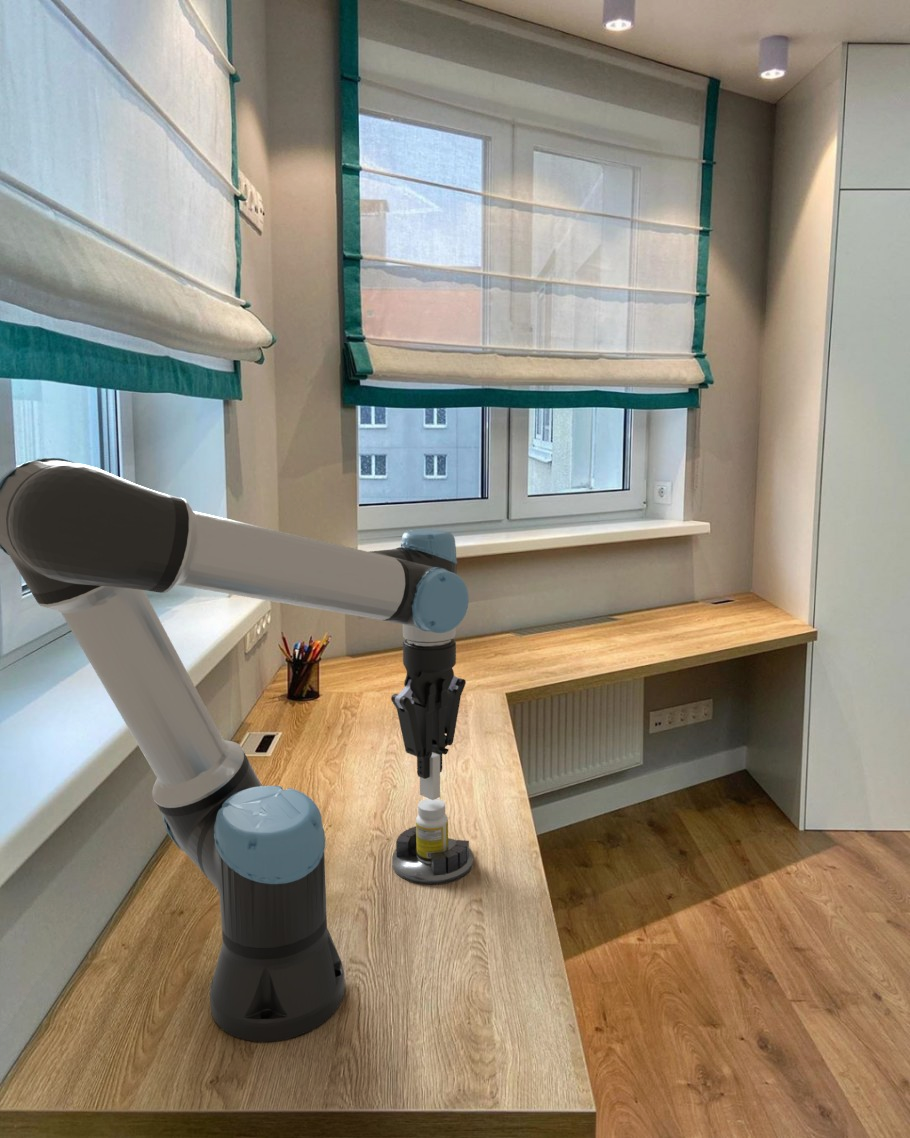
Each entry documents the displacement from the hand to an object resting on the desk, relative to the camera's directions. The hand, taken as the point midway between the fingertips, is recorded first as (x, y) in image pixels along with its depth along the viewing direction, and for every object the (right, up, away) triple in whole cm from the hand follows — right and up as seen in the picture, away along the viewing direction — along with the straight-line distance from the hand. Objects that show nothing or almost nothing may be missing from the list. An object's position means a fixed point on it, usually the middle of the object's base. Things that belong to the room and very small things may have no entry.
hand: (429, 795), depth 127 cm
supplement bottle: (0, -10, +2) cm, 10 cm away
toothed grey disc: (0, -10, +2) cm, 11 cm away
